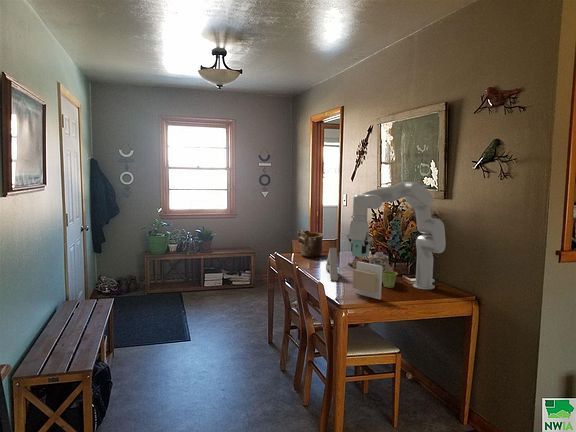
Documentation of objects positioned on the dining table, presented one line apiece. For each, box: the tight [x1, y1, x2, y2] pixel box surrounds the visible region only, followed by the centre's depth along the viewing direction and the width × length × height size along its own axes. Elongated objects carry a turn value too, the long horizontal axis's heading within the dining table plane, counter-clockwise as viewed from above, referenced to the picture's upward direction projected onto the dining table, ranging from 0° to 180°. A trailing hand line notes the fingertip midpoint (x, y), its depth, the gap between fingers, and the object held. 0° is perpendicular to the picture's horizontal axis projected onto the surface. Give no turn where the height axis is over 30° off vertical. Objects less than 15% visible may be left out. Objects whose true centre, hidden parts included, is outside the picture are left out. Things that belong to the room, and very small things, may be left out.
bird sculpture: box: [347, 256, 363, 269], centre depth 317 cm, size 11×12×32 cm
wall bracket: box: [325, 247, 339, 282], centre depth 291 cm, size 22×4×30 cm
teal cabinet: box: [351, 237, 375, 258], centre depth 234 cm, size 11×6×9 cm, turn 134°
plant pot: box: [382, 270, 398, 289], centre depth 263 cm, size 9×9×9 cm
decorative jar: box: [368, 251, 390, 284], centre depth 277 cm, size 12×12×18 cm
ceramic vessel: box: [296, 229, 324, 258], centre depth 354 cm, size 23×24×25 cm
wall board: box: [352, 261, 383, 300], centre depth 240 cm, size 5×16×18 cm, turn 44°
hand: (358, 252), depth 232 cm, fingers closed on teal cabinet, 6 cm apart
